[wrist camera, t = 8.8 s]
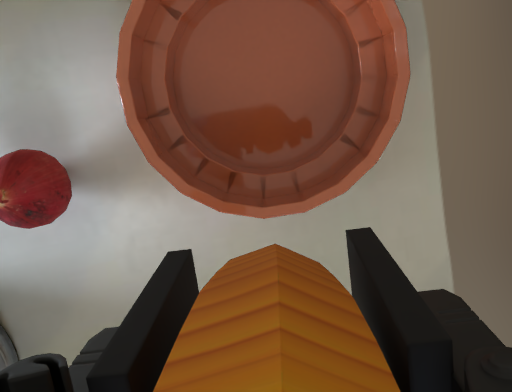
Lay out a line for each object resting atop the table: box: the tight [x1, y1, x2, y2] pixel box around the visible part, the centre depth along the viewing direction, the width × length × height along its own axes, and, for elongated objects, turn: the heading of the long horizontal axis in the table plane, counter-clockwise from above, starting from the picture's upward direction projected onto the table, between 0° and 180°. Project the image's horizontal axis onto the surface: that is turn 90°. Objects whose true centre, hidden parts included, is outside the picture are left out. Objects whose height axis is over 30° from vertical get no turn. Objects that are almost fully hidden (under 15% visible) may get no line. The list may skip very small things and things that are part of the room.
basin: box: [116, 0, 410, 219], centre depth 32 cm, size 19×19×6 cm
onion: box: [0, 149, 72, 229], centre depth 34 cm, size 6×6×8 cm
